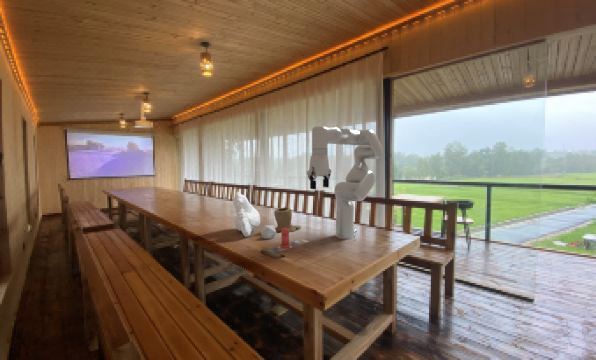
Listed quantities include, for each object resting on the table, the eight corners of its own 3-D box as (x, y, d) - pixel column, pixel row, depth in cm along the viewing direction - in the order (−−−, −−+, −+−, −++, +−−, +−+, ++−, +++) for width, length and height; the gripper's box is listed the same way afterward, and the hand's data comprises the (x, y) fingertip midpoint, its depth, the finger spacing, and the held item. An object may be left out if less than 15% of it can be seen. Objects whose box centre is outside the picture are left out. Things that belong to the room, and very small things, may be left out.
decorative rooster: (241, 215, 174) (225, 189, 158) (264, 212, 172) (250, 184, 156) (234, 248, 156) (215, 222, 140) (259, 245, 153) (243, 217, 137)
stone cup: (270, 233, 157) (270, 208, 156) (278, 228, 169) (278, 205, 167) (294, 236, 153) (294, 210, 152) (301, 230, 164) (301, 206, 163)
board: (298, 239, 145) (298, 237, 145) (315, 244, 137) (315, 242, 137) (261, 252, 127) (261, 249, 127) (278, 258, 118) (278, 255, 118)
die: (270, 244, 140) (279, 228, 142) (256, 235, 141) (266, 220, 143) (271, 245, 148) (280, 230, 150) (258, 236, 149) (267, 222, 151)
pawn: (285, 244, 133) (285, 225, 132) (292, 246, 130) (292, 227, 129) (278, 247, 130) (278, 227, 129) (285, 249, 126) (285, 229, 126)
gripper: (324, 152, 136) (324, 186, 138) (301, 152, 124) (301, 189, 126) (336, 152, 131) (336, 187, 133) (313, 152, 119) (313, 190, 120)
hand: (319, 188), depth 129 cm, fingers open, 9 cm apart
